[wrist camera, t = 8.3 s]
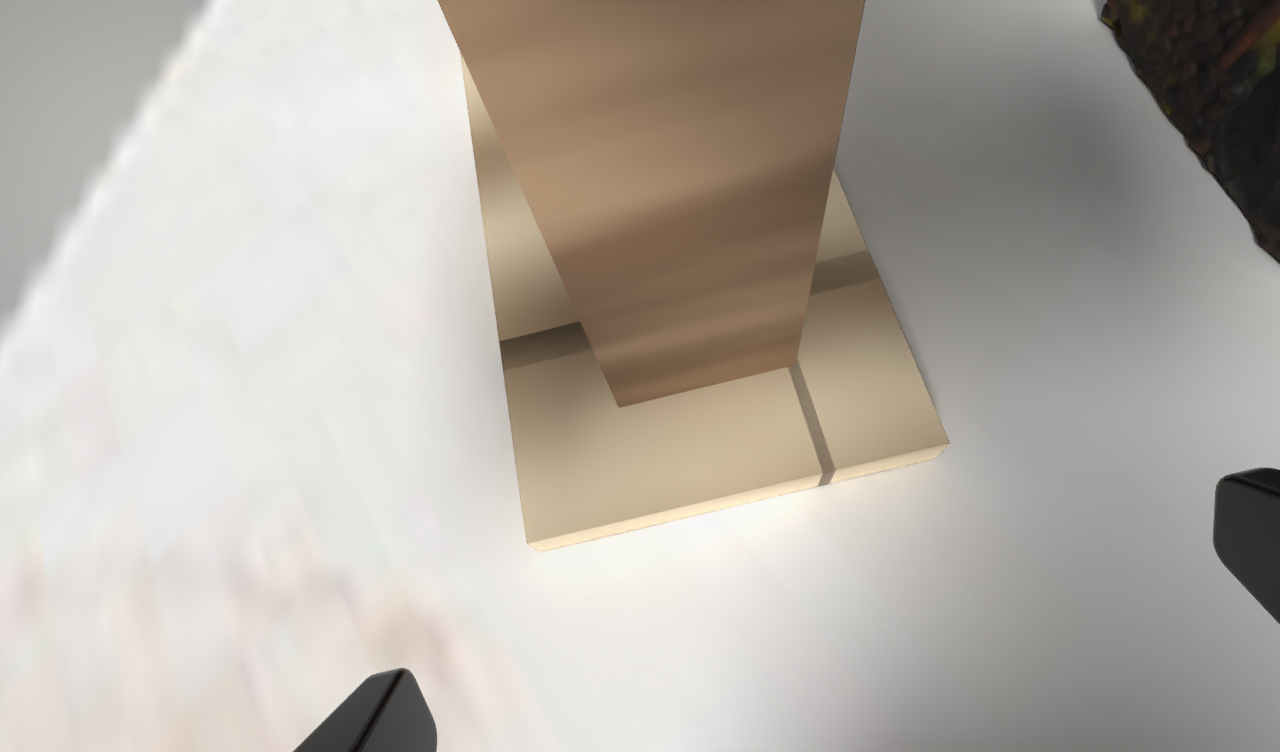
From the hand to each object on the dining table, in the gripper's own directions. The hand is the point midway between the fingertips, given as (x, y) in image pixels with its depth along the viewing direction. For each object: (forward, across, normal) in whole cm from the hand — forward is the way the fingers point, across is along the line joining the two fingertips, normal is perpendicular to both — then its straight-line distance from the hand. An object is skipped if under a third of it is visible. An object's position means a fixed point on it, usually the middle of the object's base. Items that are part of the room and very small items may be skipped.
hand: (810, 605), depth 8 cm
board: (+16, 0, -4) cm, 17 cm away
